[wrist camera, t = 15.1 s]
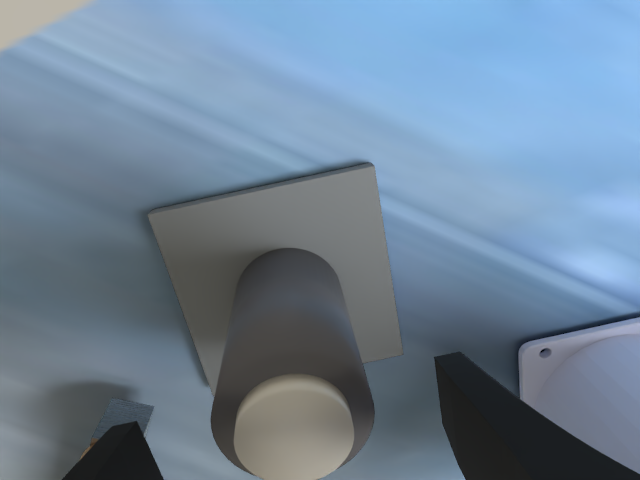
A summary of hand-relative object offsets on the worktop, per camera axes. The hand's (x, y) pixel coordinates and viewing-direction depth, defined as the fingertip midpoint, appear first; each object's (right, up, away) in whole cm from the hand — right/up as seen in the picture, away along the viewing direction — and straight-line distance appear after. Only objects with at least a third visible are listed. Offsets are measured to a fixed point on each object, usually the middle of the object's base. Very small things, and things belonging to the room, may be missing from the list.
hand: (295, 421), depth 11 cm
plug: (-1, +2, +6) cm, 7 cm away
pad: (-1, +3, +7) cm, 7 cm away
